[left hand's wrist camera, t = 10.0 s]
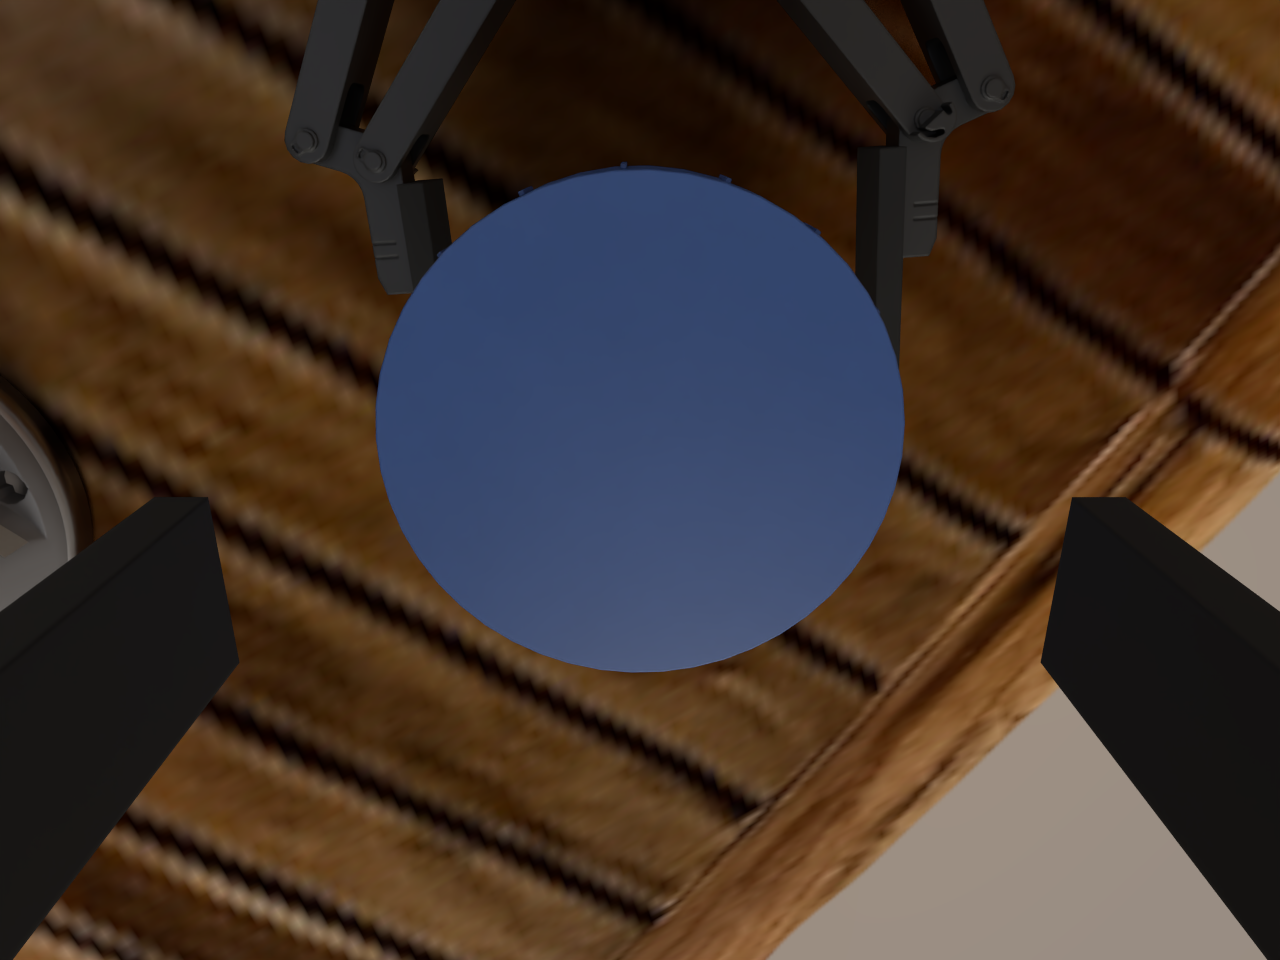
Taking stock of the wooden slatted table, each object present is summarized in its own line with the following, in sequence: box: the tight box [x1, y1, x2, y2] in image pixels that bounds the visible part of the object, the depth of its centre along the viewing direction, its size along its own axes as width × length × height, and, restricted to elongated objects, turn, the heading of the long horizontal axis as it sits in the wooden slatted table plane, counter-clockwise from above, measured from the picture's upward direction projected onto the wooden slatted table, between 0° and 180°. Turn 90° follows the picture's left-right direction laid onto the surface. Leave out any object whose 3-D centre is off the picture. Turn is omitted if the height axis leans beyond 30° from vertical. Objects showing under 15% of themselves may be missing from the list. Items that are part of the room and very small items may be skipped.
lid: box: [376, 162, 905, 672], centre depth 20 cm, size 11×11×2 cm
